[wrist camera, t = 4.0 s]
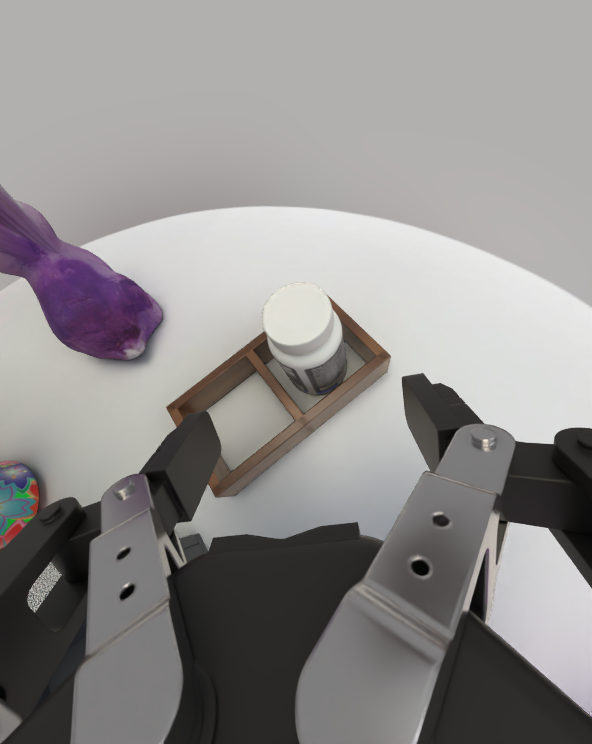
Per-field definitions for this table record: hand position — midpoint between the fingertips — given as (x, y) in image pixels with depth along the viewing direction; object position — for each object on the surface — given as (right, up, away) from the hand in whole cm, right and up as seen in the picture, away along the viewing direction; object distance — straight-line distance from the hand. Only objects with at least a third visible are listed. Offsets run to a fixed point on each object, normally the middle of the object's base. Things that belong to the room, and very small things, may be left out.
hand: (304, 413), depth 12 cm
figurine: (-18, +7, +18) cm, 26 cm away
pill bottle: (+1, +2, +12) cm, 12 cm away
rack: (-1, 0, +12) cm, 12 cm away
